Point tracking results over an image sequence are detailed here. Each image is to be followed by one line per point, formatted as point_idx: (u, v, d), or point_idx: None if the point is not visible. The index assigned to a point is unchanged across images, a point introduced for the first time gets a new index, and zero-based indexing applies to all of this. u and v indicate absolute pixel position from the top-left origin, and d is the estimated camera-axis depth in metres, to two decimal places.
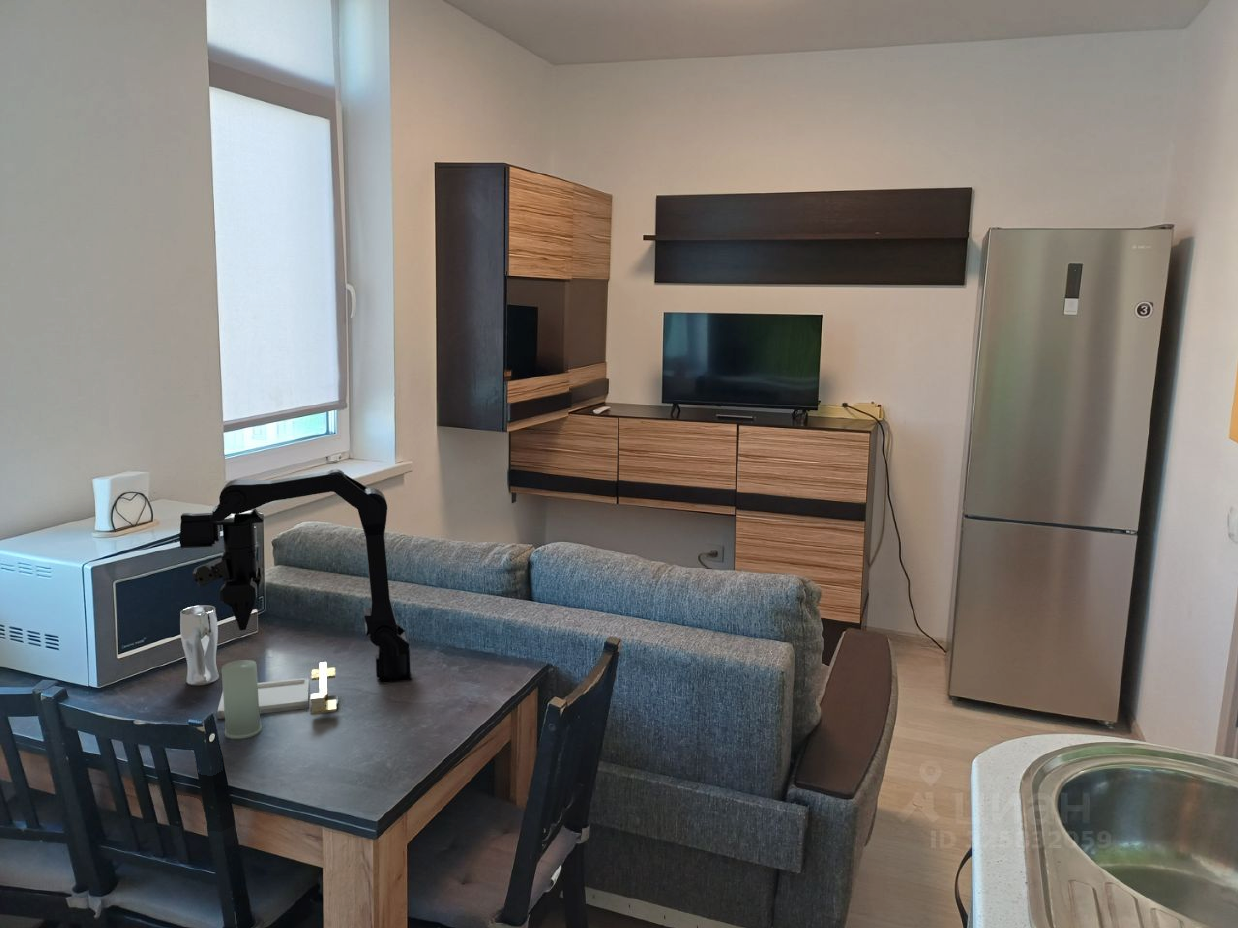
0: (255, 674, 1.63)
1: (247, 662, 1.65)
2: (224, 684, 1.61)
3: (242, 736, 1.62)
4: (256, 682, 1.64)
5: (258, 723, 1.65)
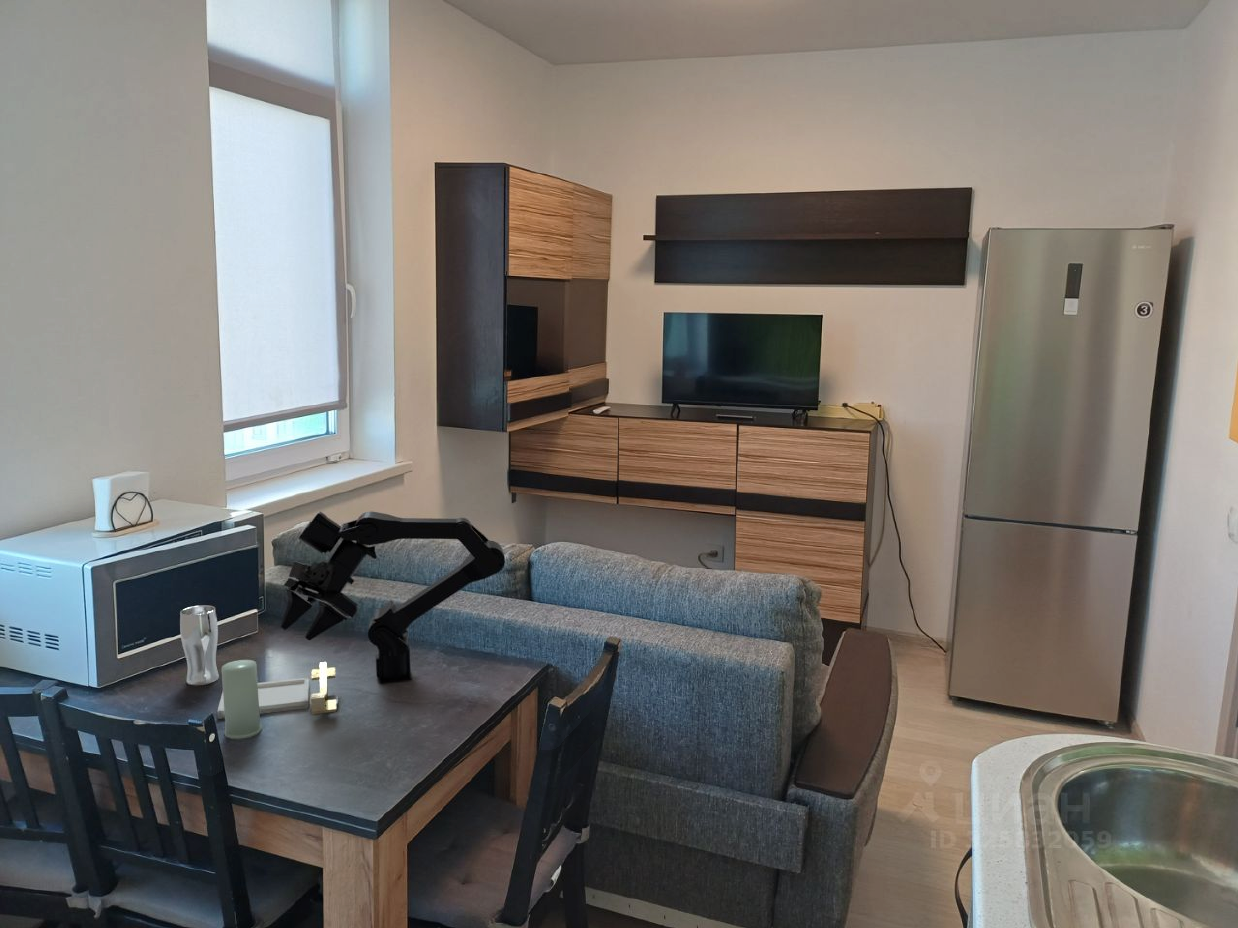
0: (255, 674, 1.63)
1: (247, 662, 1.65)
2: (224, 684, 1.61)
3: (242, 736, 1.62)
4: (256, 682, 1.64)
5: (258, 723, 1.65)
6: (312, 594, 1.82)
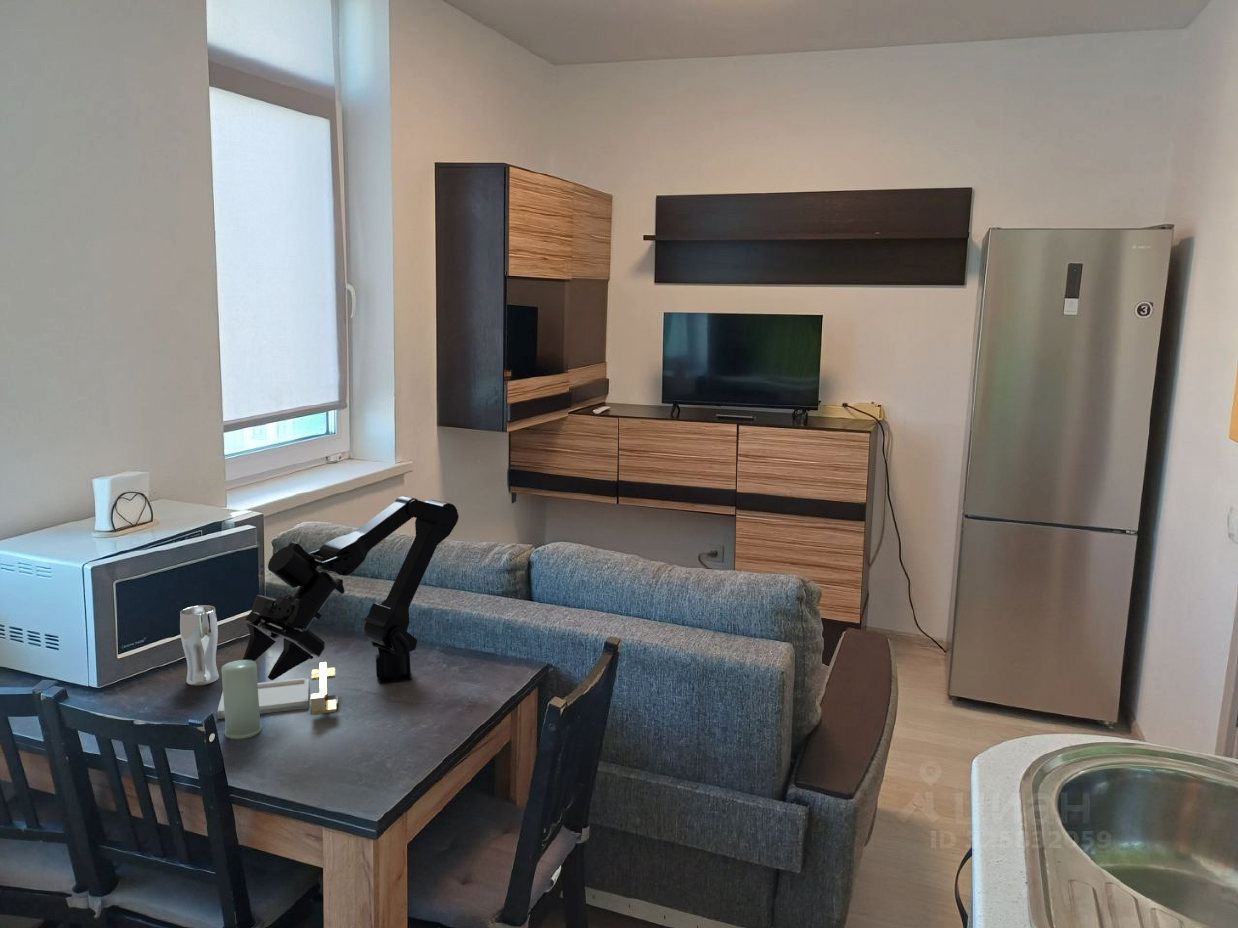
0: (255, 674, 1.63)
1: (247, 662, 1.65)
2: (224, 684, 1.61)
3: (242, 736, 1.62)
4: (256, 682, 1.64)
5: (258, 723, 1.65)
6: (276, 630, 1.71)
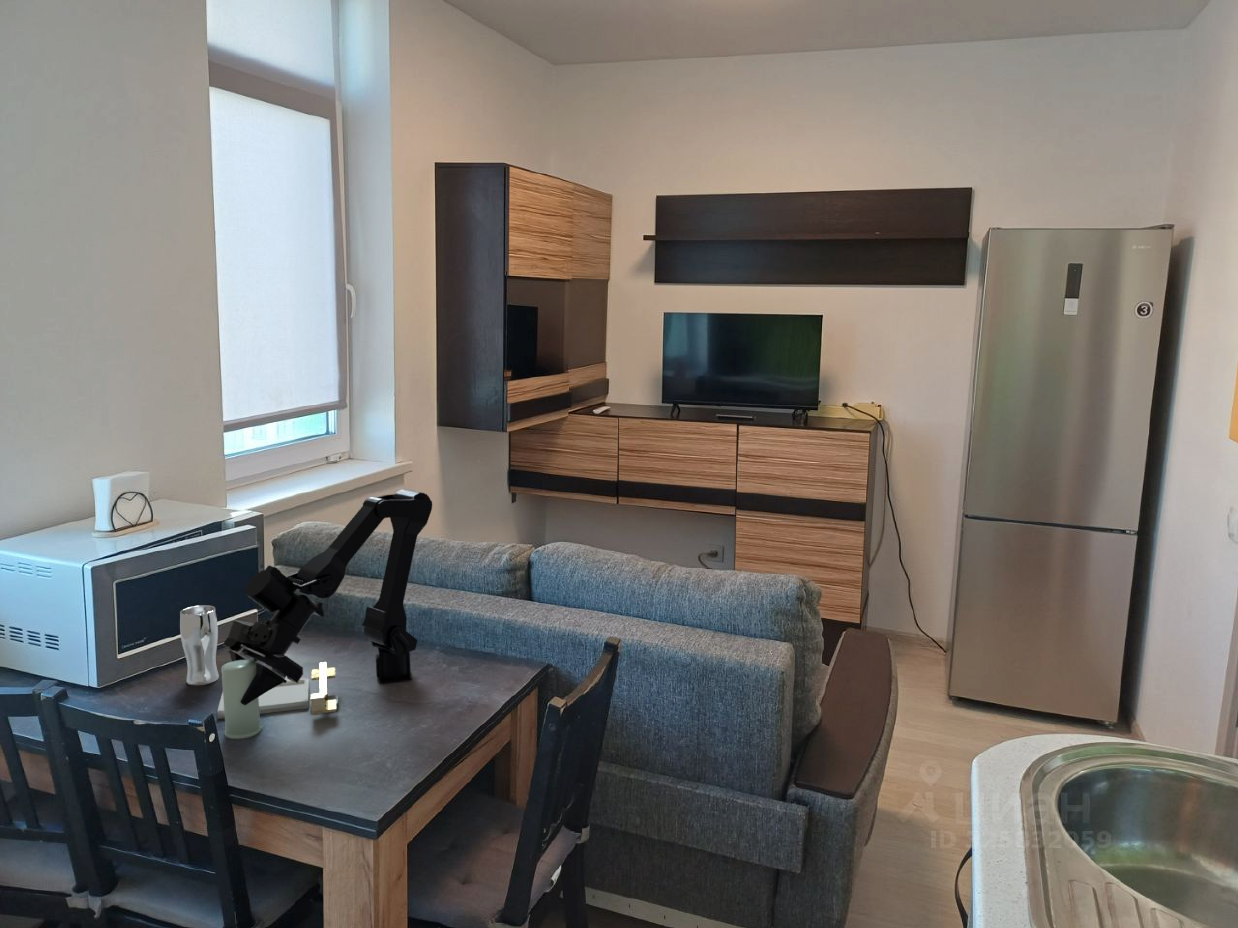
0: (255, 674, 1.63)
1: (247, 662, 1.65)
2: (224, 684, 1.61)
3: (242, 736, 1.62)
4: None
5: (258, 723, 1.65)
6: (254, 654, 1.68)
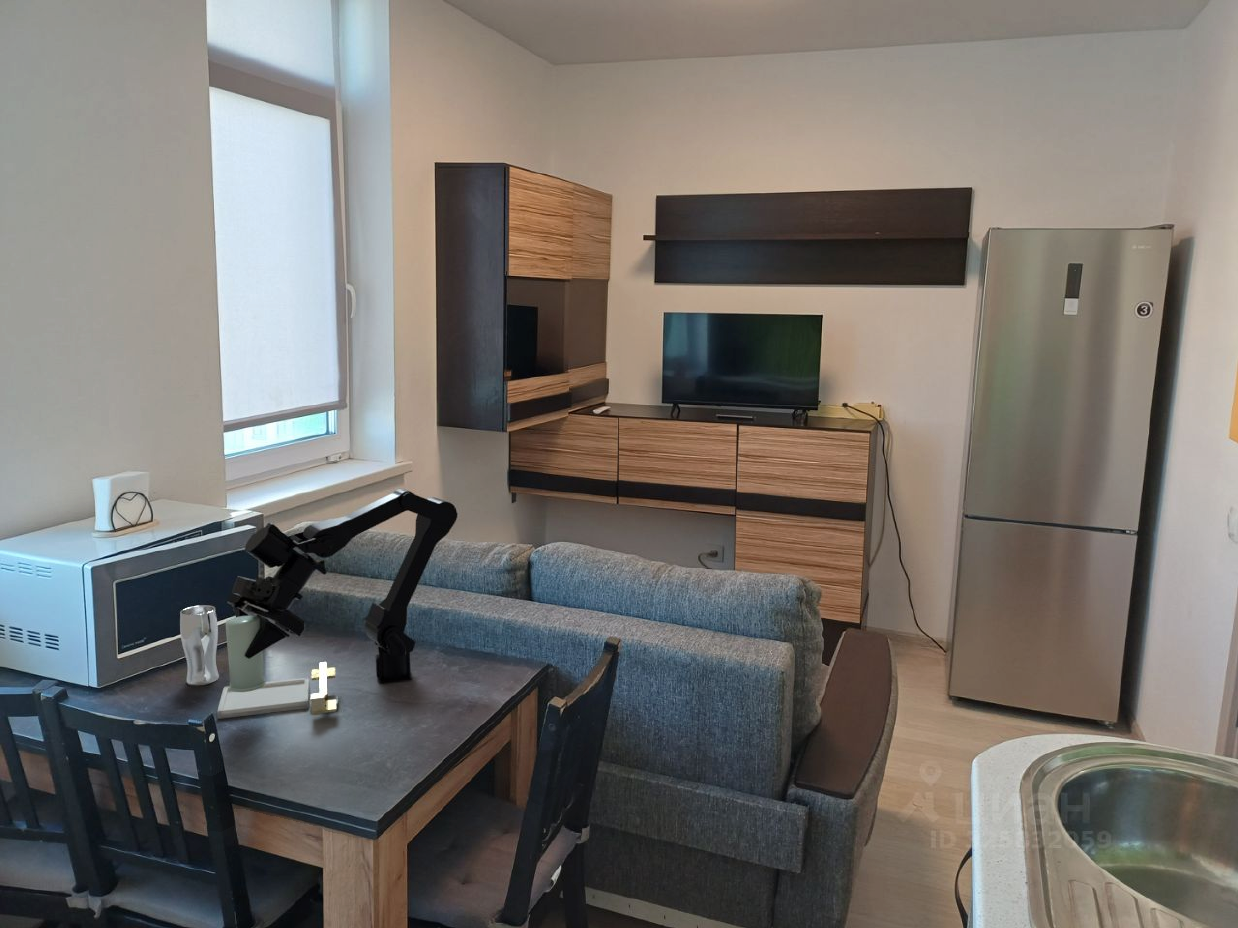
0: (258, 629, 1.67)
1: (251, 617, 1.69)
2: (228, 638, 1.65)
3: (246, 689, 1.66)
4: None
5: (262, 677, 1.69)
6: (257, 611, 1.72)
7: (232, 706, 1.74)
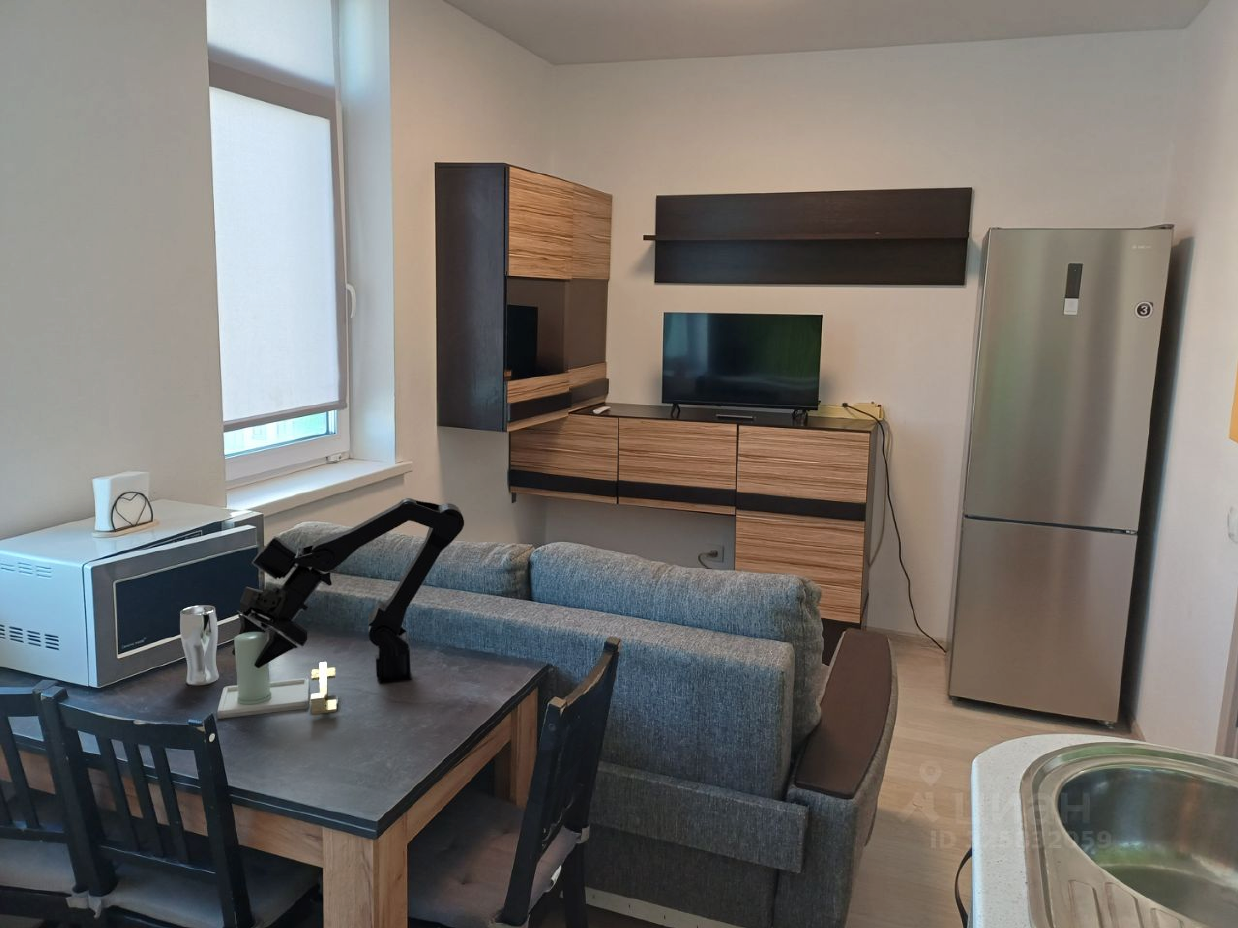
0: None
1: (258, 634, 1.77)
2: (236, 653, 1.74)
3: (252, 702, 1.75)
4: None
5: (268, 691, 1.77)
6: (265, 620, 1.80)
7: (232, 706, 1.74)
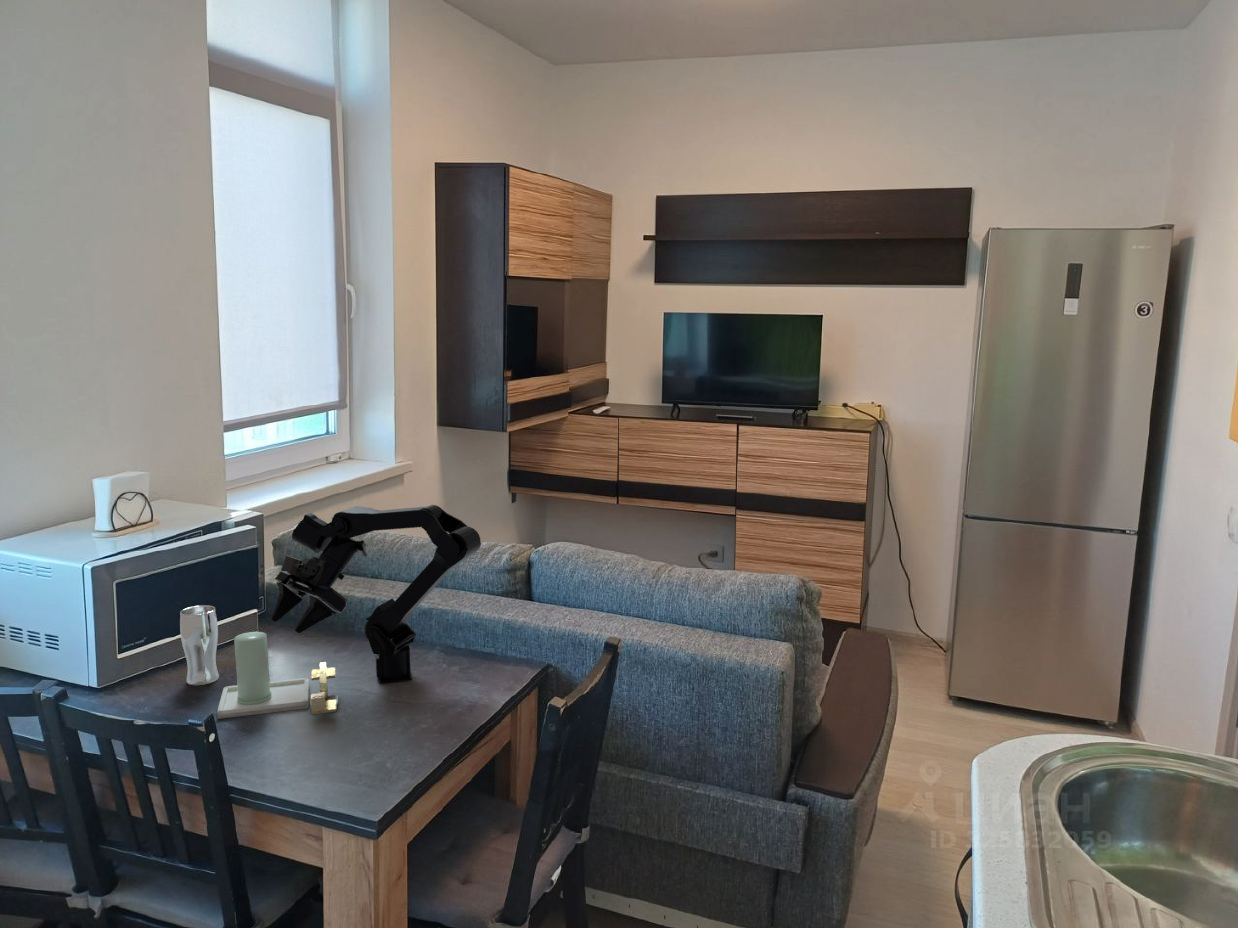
0: (265, 645, 1.76)
1: (258, 634, 1.77)
2: (236, 653, 1.74)
3: (252, 702, 1.75)
4: (266, 652, 1.76)
5: (268, 691, 1.77)
6: (303, 588, 1.87)
7: (232, 706, 1.74)
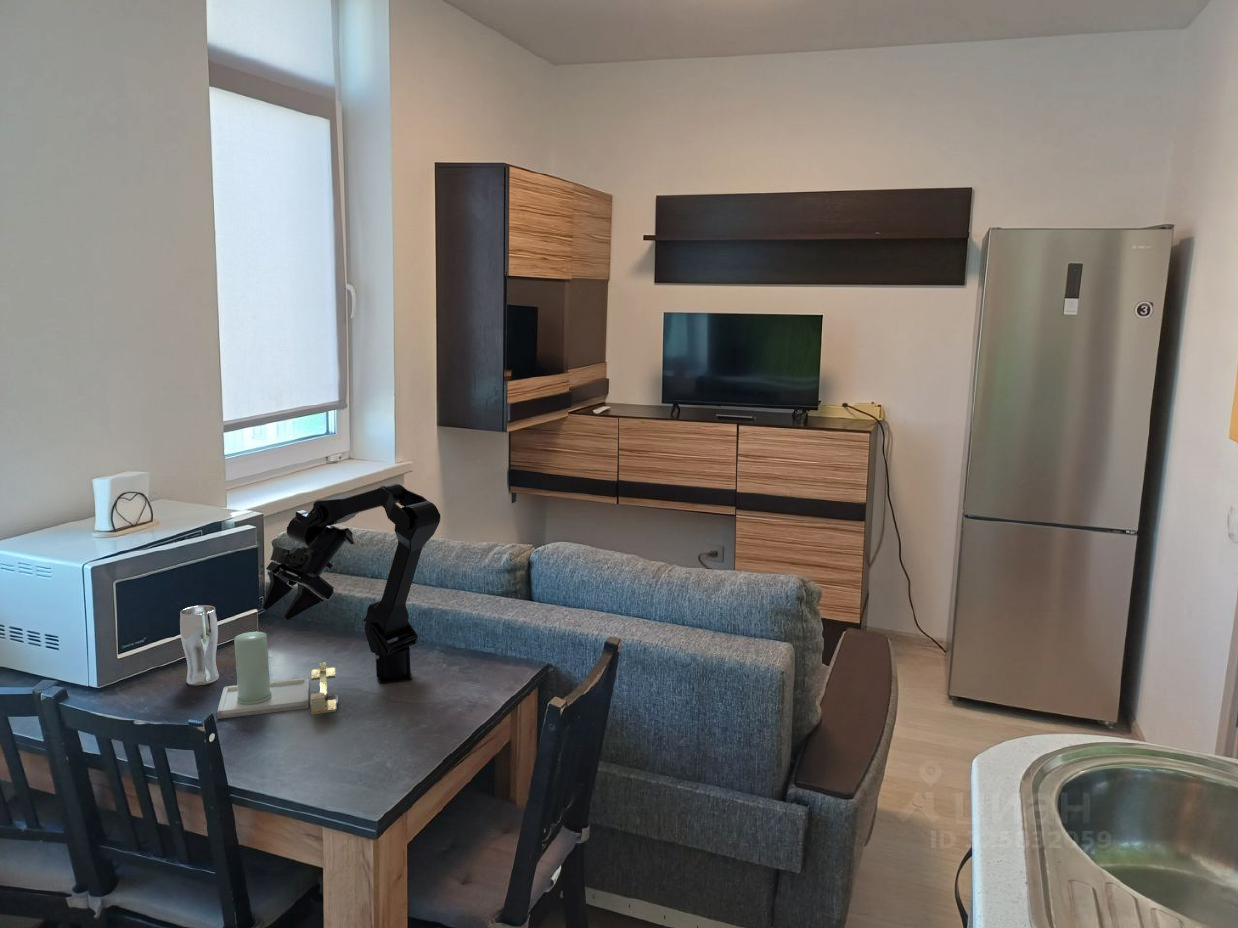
0: (265, 645, 1.76)
1: (258, 634, 1.77)
2: (236, 653, 1.74)
3: (252, 702, 1.75)
4: (266, 652, 1.76)
5: (268, 691, 1.77)
6: (292, 577, 1.93)
7: (232, 706, 1.74)
